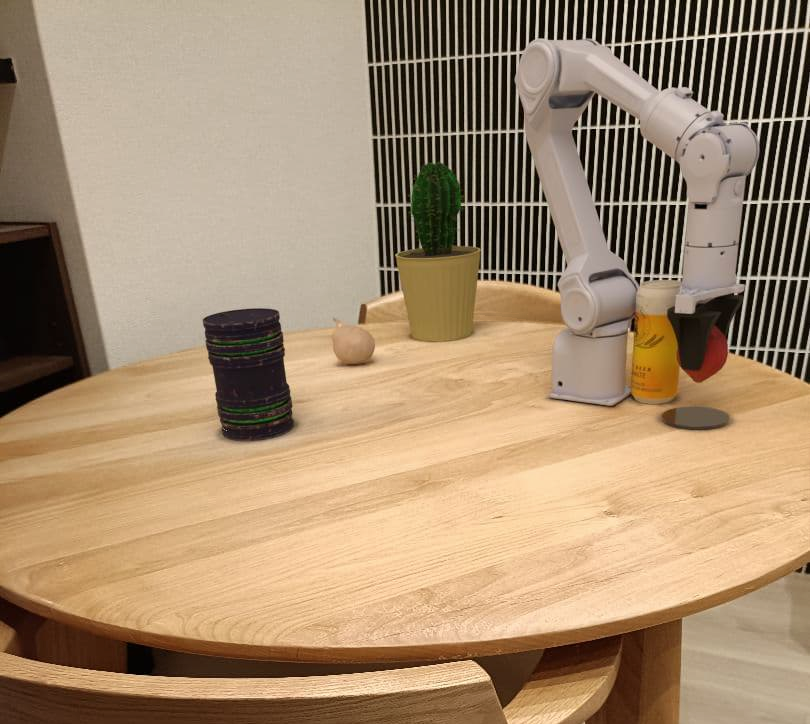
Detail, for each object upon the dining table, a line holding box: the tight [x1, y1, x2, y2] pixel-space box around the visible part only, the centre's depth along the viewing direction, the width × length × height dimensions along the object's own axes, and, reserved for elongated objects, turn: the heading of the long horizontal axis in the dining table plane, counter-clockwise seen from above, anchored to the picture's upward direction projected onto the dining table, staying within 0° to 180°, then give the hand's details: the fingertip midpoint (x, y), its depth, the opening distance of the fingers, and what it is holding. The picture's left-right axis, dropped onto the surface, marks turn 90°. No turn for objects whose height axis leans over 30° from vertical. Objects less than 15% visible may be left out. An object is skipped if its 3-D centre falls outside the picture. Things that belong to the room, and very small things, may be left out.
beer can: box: [630, 279, 682, 405], centre depth 107 cm, size 6×6×15 cm
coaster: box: [661, 405, 731, 431], centre depth 102 cm, size 8×8×1 cm
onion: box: [676, 325, 729, 384], centre depth 98 cm, size 6×6×8 cm
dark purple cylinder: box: [202, 307, 295, 442], centre depth 107 cm, size 10×10×15 cm
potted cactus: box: [394, 159, 482, 342], centre depth 147 cm, size 15×15×30 cm
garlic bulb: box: [331, 316, 376, 365], centre depth 136 cm, size 7×6×8 cm
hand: (700, 363), depth 99 cm, fingers closed on onion, 6 cm apart
